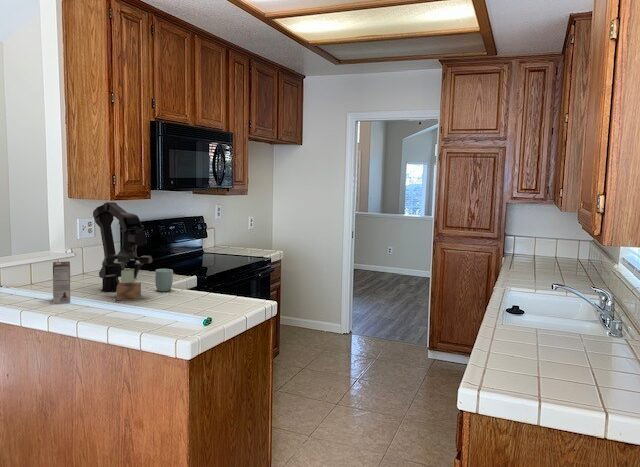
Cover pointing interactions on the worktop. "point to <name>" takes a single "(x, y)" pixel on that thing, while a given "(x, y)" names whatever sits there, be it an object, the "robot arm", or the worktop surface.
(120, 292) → the walnut block
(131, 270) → the green cube
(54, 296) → the coffee box
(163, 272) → the cup
